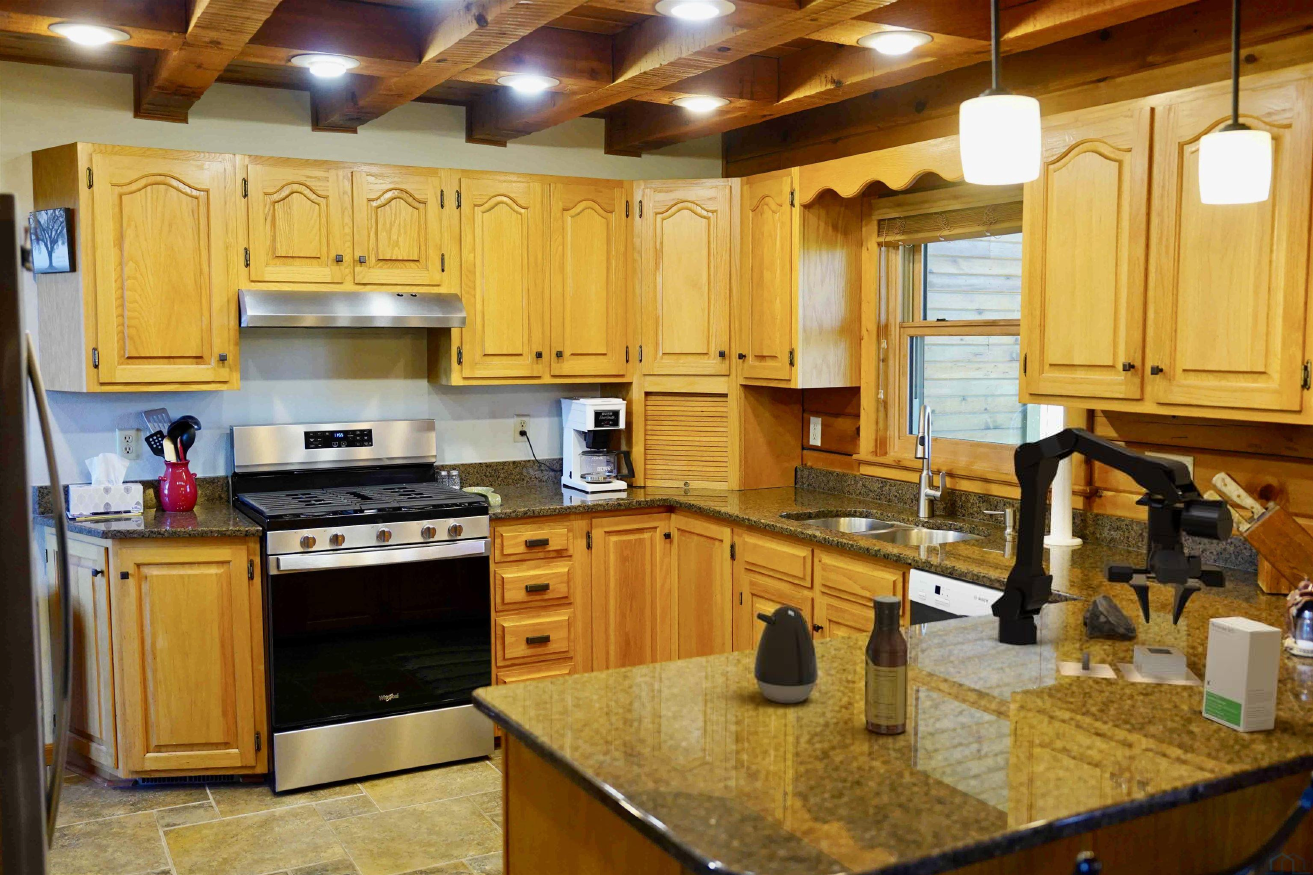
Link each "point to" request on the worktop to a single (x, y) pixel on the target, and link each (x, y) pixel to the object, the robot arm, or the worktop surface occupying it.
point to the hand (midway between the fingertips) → (1161, 623)
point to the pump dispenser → (785, 657)
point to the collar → (1159, 663)
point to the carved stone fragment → (1107, 619)
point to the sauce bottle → (886, 670)
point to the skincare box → (1242, 673)
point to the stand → (1085, 668)
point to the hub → (1134, 677)
